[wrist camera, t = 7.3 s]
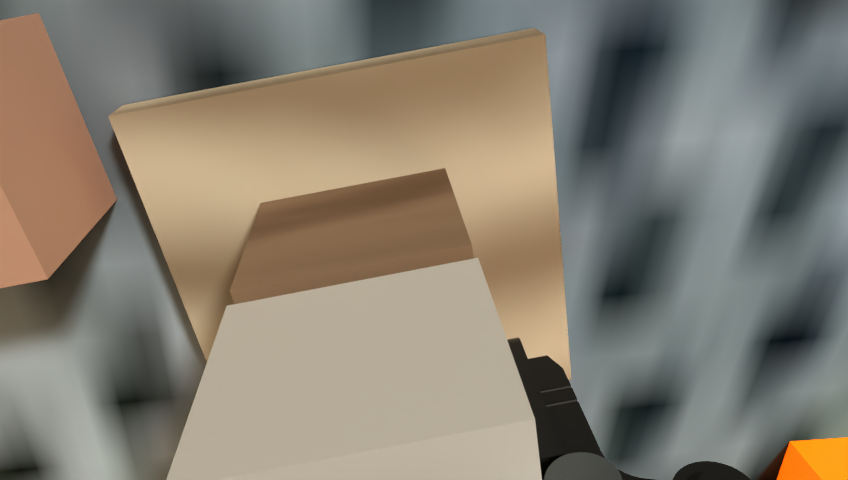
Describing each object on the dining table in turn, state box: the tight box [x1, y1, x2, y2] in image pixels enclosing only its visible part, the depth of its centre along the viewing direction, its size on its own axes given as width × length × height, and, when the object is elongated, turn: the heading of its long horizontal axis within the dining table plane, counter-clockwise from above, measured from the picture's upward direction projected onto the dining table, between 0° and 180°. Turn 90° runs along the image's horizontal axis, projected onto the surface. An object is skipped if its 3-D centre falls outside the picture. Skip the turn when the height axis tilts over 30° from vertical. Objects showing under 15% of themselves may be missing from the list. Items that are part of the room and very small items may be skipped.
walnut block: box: [230, 168, 474, 304], centre depth 18 cm, size 6×6×5 cm
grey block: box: [166, 258, 542, 480], centre depth 13 cm, size 6×6×5 cm
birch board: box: [108, 28, 571, 380], centre depth 20 cm, size 12×12×1 cm
